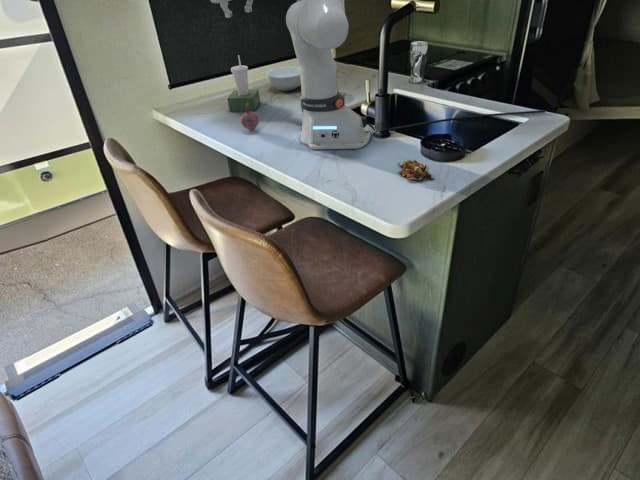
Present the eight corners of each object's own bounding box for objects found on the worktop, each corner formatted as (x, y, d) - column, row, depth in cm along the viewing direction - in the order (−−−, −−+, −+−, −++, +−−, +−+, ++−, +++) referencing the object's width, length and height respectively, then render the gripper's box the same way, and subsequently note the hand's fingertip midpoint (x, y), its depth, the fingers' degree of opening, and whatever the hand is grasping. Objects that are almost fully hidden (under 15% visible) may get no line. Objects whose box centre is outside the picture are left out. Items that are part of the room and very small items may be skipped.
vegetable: (240, 134, 147) (235, 105, 141) (245, 127, 152) (240, 99, 146) (258, 134, 146) (253, 105, 140) (262, 127, 151) (258, 99, 145)
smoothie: (248, 96, 164) (242, 57, 156) (232, 96, 165) (225, 57, 157) (254, 91, 169) (248, 53, 161) (238, 91, 170) (232, 53, 162)
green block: (260, 101, 173) (258, 89, 171) (255, 110, 165) (253, 97, 162) (235, 102, 174) (233, 90, 172) (229, 111, 166) (227, 98, 163)
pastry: (414, 160, 123) (414, 149, 121) (434, 179, 114) (436, 167, 112) (391, 165, 122) (391, 153, 120) (410, 184, 112) (411, 172, 110)
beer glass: (421, 84, 179) (424, 45, 170) (405, 82, 182) (407, 44, 173) (427, 79, 183) (430, 41, 175) (411, 78, 186) (414, 40, 178)
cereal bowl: (302, 94, 178) (300, 76, 174) (263, 94, 181) (261, 77, 176) (310, 82, 191) (309, 65, 187) (274, 82, 194) (272, 65, 190)
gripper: (246, -40, 139) (252, 8, 147) (199, -33, 126) (209, 20, 134) (261, -40, 136) (267, 9, 144) (215, -33, 123) (224, 21, 131)
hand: (239, 14), depth 139 cm, fingers open, 8 cm apart
